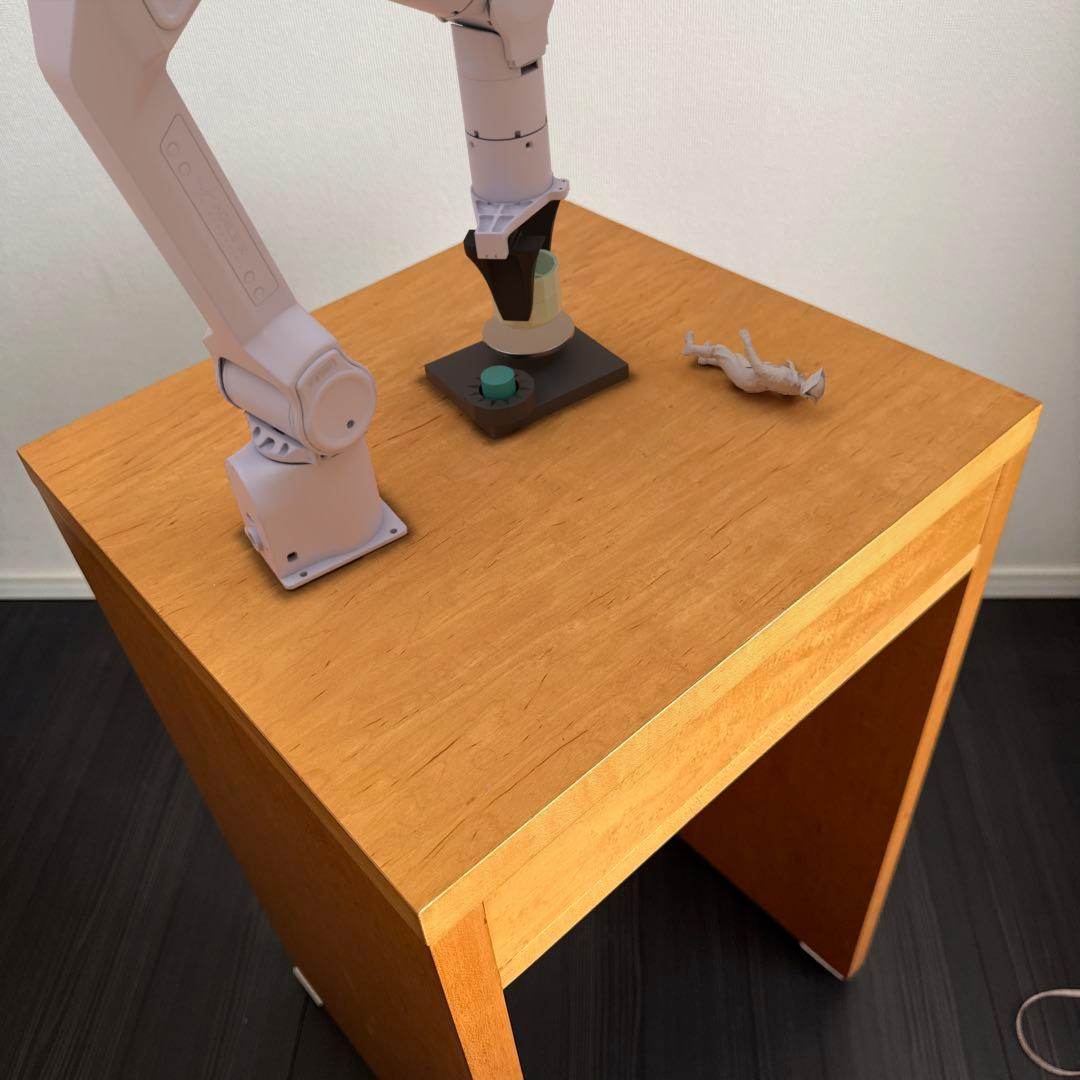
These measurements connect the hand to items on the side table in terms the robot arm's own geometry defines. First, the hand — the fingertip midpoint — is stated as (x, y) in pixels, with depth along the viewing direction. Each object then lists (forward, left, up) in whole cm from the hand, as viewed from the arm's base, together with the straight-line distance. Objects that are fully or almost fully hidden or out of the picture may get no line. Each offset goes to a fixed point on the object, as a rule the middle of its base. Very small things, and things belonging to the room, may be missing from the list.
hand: (525, 298), depth 86 cm
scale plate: (+2, +3, -6) cm, 7 cm away
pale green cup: (0, 0, -1) cm, 1 cm away
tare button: (-4, -2, -6) cm, 7 cm away
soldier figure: (+13, -11, -9) cm, 20 cm away
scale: (0, +2, -9) cm, 9 cm away
